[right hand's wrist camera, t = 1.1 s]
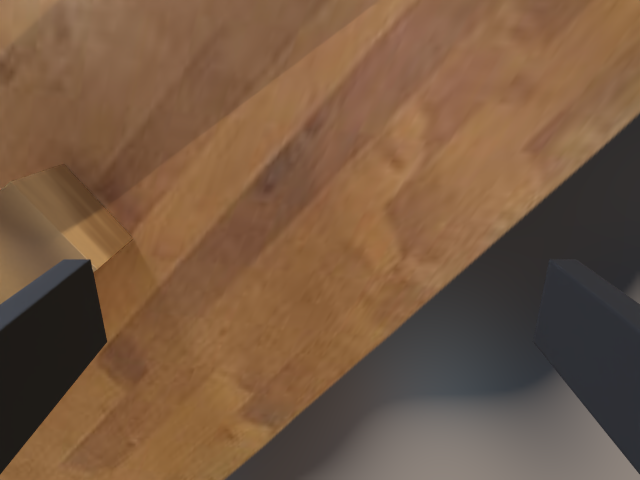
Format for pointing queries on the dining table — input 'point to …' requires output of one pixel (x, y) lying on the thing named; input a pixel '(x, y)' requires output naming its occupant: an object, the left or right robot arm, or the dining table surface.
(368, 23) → the dining table surface
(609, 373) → the right robot arm
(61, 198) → the wide beam
